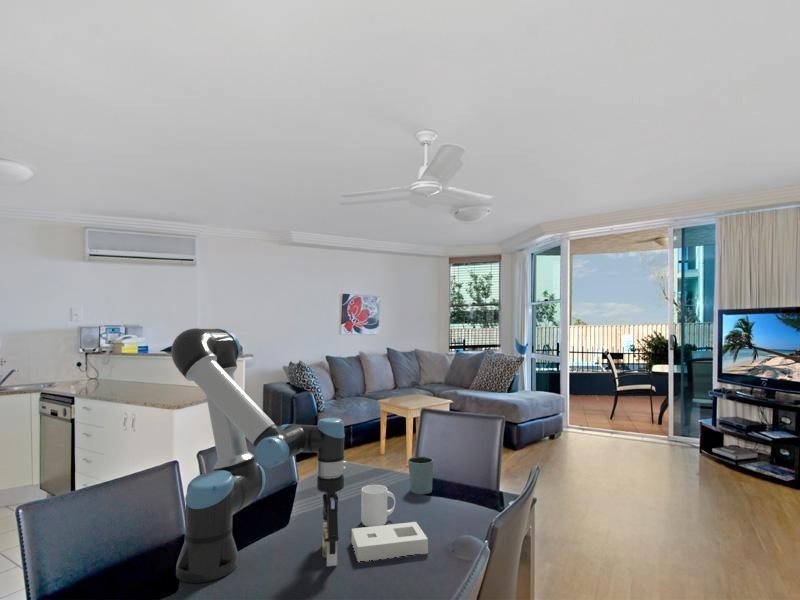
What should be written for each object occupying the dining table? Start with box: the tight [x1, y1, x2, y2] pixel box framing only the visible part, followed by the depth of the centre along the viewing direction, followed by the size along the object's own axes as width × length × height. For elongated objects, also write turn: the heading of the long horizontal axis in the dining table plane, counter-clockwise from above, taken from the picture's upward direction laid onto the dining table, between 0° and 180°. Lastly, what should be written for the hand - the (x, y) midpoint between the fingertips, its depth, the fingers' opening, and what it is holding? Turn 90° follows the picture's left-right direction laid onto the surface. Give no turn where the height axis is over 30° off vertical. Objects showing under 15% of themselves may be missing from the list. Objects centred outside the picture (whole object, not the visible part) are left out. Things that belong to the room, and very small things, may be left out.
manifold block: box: [351, 521, 429, 563], centre depth 129 cm, size 20×12×4 cm, turn 104°
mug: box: [360, 484, 396, 527], centre depth 148 cm, size 9×12×11 cm
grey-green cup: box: [407, 456, 434, 495], centre depth 177 cm, size 10×10×12 cm
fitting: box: [321, 527, 328, 560], centre depth 125 cm, size 4×4×7 cm
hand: (329, 554), depth 125 cm, fingers open, 12 cm apart
